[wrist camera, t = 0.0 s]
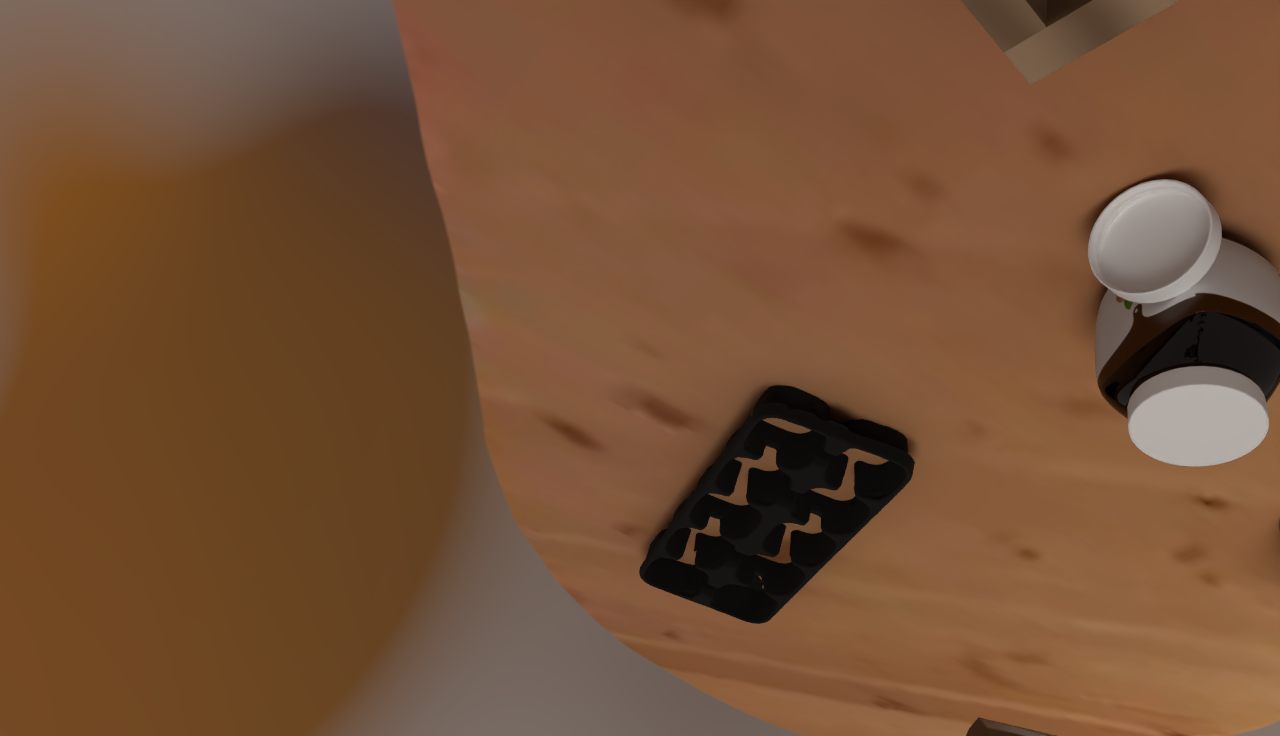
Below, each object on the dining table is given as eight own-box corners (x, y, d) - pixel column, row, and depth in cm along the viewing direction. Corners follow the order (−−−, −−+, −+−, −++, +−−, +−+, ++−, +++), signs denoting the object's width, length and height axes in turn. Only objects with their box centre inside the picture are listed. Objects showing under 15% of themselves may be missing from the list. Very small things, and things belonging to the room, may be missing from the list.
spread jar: (1178, 349, 75) (1191, 498, 67) (1023, 277, 73) (1019, 421, 66) (1329, 228, 66) (1363, 385, 58) (1155, 142, 64) (1168, 292, 57)
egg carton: (930, 412, 85) (927, 453, 83) (829, 609, 108) (823, 645, 106) (693, 351, 86) (682, 390, 84) (642, 559, 109) (633, 595, 107)
